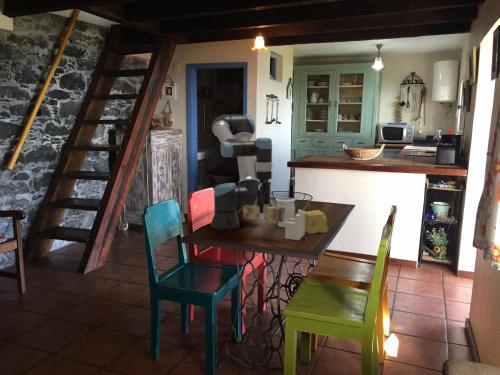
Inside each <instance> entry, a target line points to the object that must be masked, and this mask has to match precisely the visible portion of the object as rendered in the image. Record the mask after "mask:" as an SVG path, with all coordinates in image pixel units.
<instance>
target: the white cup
mask: <svg viewBox="0 0 500 375" xmlns="http://www.w3.org/2000/svg"><path fill="white" fill-rule="evenodd" d="M295 199H296V198H292V197H277V198H275V201H276V205H275V207H285V220H284V221H283V222H278V223H277V226H278V227H280V228H285V222H290V219H291V218H295V215H296V213H295V211H296V206H295V205H296V204H295V202H296V200H295Z"/></svg>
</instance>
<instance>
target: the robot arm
mask: <svg viewBox="0 0 500 375" xmlns="http://www.w3.org/2000/svg"><path fill="white" fill-rule="evenodd" d="M255 127H256V124H255V120H254V118H253V116H252V115H250V114H245V113H242V114H222V115H220V116H218V117H216V118H215V119H214V120H213V122H212V124H211V131H212V133H213V135H214V136H215V137H217V138H218V140H219V142H220V154H221V155H220V156H222V157H223V158H237V165H238V166H237V168H238V174H239V181H238V182H237V185H236V183H235V182H226V183H221V184H218V185H215V187H214V189H213V197H214V198H213V201H214V202H213V203H214V205H213V206H214V212H213V217H212V220H211V228H212V229H214V230H219V231H220V230H223V231H228V230H234V229H235V230H236V229H238V228H239V227H240V221H239V218H238V214H237V208H241V207H242V208H243V206H245V205H256V206H259V219H260V220H259V221H266V220H265V206H269V205H270V204H271V183H272V182H271V181H269V180H271V179H272V178H273V172H272V170H273V169H272V167H273V165H274V164H272V163H273V162H272V161H273V160H272V159H273V141H272V138H270V137H257V138H255V139H256V140H251V139H252V138H253V136H254V134H255V132H256V128H255ZM254 157H255V166H254V159H253V158H254ZM255 170H256V171H255Z"/></svg>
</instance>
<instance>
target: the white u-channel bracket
mask: <svg viewBox="0 0 500 375" xmlns="http://www.w3.org/2000/svg"><path fill="white" fill-rule="evenodd" d="M305 212H306V211H305V210H304V211H303V210H302V209H298V210H297V214H296V213H295V214H294V218H291V219H290V222H285V227H284V239H286V240H295V241H300V240H301V239H302V238H303V237H304V236H305V233H306V232H305Z"/></svg>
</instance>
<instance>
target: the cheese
mask: <svg viewBox="0 0 500 375" xmlns="http://www.w3.org/2000/svg"><path fill="white" fill-rule="evenodd" d="M305 233H307V234H310V235H314V234H318V233H321V234H322V233H328V218H327V217H326V215H325V213H324V212H323V211H322V210H320V209H313V210H310V211H309V210H307V211H305Z"/></svg>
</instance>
